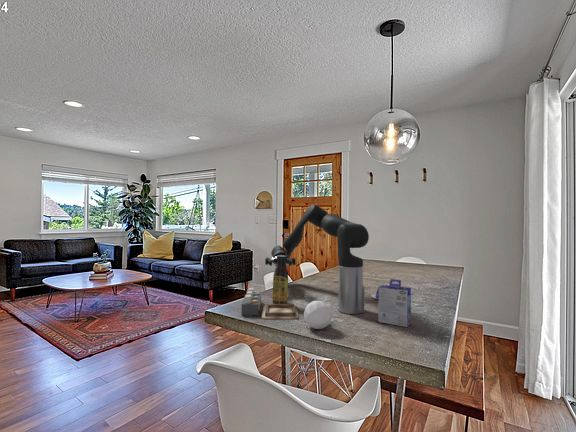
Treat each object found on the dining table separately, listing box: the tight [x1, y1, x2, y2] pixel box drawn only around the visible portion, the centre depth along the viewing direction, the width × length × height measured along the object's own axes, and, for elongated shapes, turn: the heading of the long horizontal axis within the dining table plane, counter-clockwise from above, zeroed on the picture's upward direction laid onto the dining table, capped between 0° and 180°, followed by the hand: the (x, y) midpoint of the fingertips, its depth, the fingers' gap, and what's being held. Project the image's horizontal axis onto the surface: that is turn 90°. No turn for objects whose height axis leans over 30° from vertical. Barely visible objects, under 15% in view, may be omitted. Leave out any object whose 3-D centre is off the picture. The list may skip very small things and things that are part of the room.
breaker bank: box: [240, 287, 262, 316], centre depth 123 cm, size 6×18×6 cm, turn 1°
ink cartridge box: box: [377, 278, 412, 328], centre depth 107 cm, size 10×6×14 cm, turn 58°
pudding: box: [370, 285, 381, 300], centre depth 141 cm, size 12×12×5 cm
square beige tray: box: [261, 303, 300, 320], centre depth 117 cm, size 13×14×2 cm
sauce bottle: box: [272, 255, 289, 304], centre depth 130 cm, size 6×6×20 cm
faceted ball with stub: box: [303, 300, 333, 330], centre depth 103 cm, size 9×9×12 cm
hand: (280, 263), depth 142 cm, fingers open, 8 cm apart
